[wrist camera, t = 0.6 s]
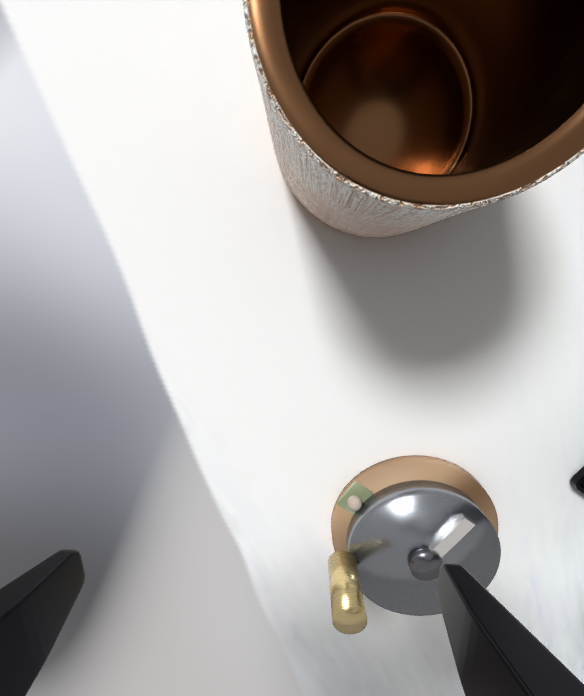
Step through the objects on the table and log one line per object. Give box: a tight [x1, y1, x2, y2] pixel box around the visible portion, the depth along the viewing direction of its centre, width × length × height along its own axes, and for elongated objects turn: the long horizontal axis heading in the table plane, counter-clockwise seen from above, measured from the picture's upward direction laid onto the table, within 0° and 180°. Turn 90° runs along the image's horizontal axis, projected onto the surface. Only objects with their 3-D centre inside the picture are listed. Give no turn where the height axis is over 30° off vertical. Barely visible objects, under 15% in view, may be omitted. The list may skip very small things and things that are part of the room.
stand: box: [331, 455, 498, 552], centre depth 22 cm, size 11×11×2 cm
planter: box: [243, 0, 584, 237], centre depth 12 cm, size 11×11×10 cm
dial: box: [328, 480, 501, 634], centre depth 19 cm, size 9×9×5 cm
